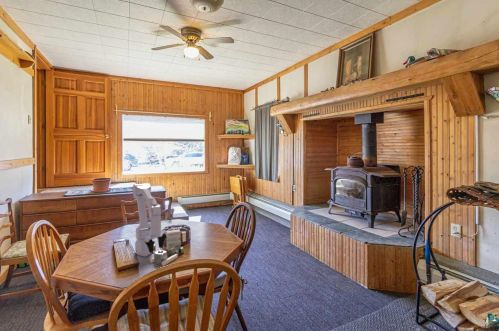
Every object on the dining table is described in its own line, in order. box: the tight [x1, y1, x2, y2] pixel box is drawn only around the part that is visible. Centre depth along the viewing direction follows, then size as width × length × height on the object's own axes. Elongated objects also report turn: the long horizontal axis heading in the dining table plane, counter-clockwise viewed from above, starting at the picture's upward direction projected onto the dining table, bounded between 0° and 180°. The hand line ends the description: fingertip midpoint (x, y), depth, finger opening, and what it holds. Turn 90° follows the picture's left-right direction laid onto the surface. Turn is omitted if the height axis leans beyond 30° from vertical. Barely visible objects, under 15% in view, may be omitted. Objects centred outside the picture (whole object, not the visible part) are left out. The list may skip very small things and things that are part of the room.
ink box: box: [165, 229, 182, 252], centre depth 172 cm, size 9×5×12 cm, turn 117°
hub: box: [153, 249, 168, 266], centre depth 152 cm, size 5×5×6 cm
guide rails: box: [149, 254, 179, 267], centre depth 155 cm, size 10×12×2 cm
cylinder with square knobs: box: [168, 245, 185, 256], centre depth 164 cm, size 6×8×4 cm
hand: (156, 250), depth 149 cm, fingers open, 7 cm apart
